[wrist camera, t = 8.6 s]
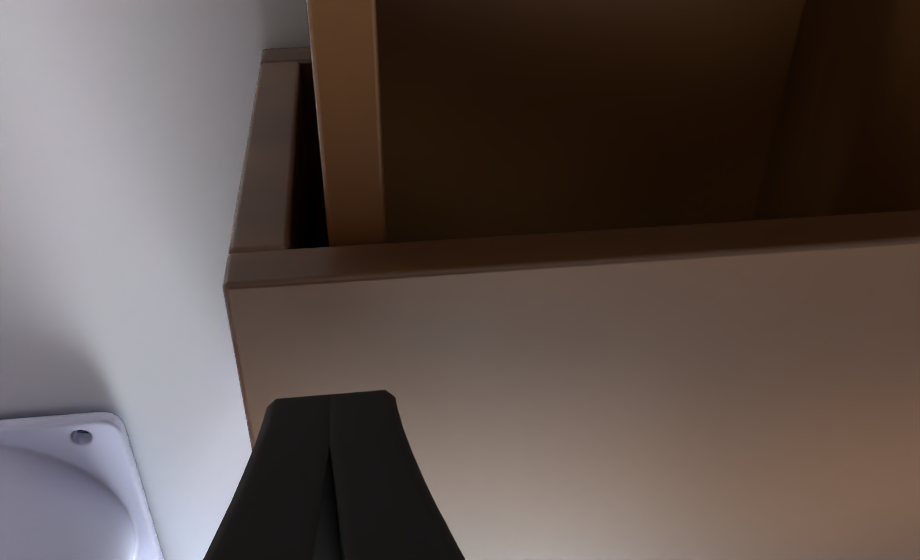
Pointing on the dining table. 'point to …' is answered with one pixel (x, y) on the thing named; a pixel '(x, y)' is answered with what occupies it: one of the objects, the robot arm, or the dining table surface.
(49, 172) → the dining table surface
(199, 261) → the dining table surface
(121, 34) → the dining table surface
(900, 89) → the drawer
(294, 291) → the cabinet
